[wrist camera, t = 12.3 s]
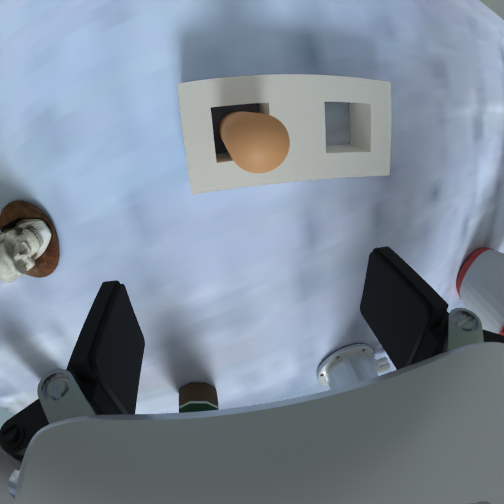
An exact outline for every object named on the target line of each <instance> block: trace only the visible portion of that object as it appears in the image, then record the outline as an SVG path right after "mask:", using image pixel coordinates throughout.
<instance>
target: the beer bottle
mask: <svg viewBox="0 0 504 504" xmlns="http://www.w3.org/2000/svg"><path fill="white" fill-rule="evenodd" d="M211 410H219V408H218V398H217V392H216V389H215V388H214V387H212V386H210V385H208V384H206V383H189V384H187V385H185V386H183V387H181V388H180V390H179V413H186V412H200V411H211Z"/></svg>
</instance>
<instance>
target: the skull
mask: <svg viewBox="0 0 504 504" xmlns="http://www.w3.org/2000/svg"><path fill="white" fill-rule="evenodd" d="M1 229H2V230H1ZM0 230H1V231H2V233H1V234H0V279H1V280H3V281H5V282H13V281H14V280H16V279H17V278H18V277H19V276H21V275H24V274H27V275H29V276H33V277H39V278H40V277H45V276H48V275H50V274H51V273H52V272H53V271H54V270H55V268H56V267H57V265H58V261H59V255H60V254H59V244H58V240H57V236H56V234H55V231H54V229H53V227H52V224H51V223H50V221H49V220H48V218H47V217H46V216H45V215H44V214H43V213H42V212H41V211H40V210H39V209H37V208H36V207H35V206H33V205H31V204H29V203H27V202H23V201H14V202H12V203H10V204H8V205H7V206H6V207H5V208H4V209H3V211H2V212H1V214H0Z"/></svg>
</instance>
